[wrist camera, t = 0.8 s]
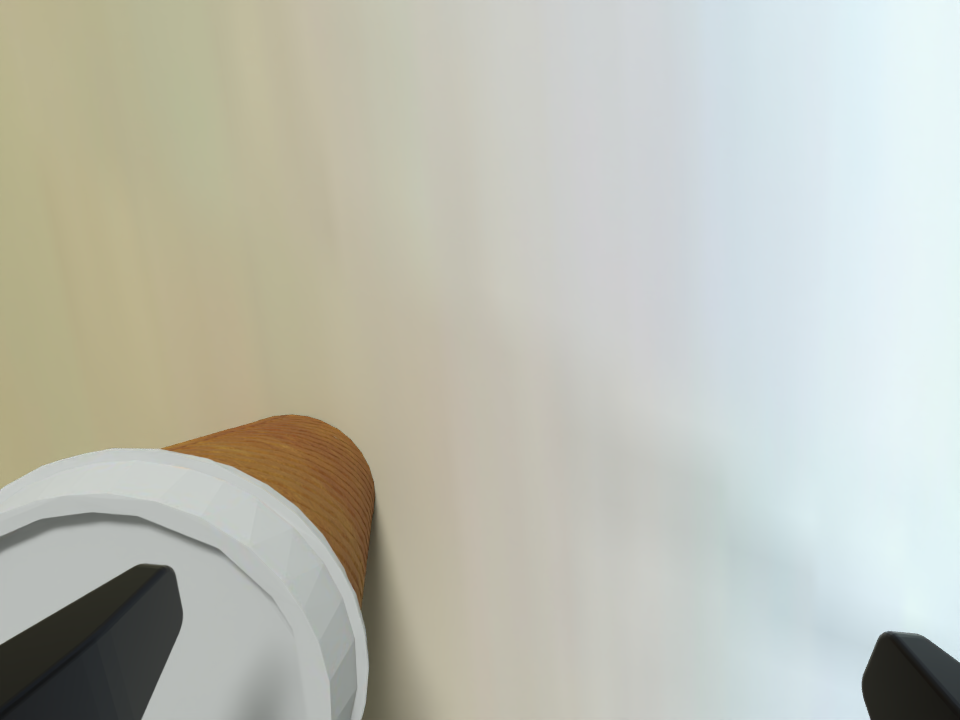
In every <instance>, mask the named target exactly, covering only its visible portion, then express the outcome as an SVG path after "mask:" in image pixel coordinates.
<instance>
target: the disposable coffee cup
mask: <svg viewBox="0 0 960 720" xmlns="http://www.w3.org/2000/svg"><path fill="white" fill-rule="evenodd" d="M374 500H375V491H374V481H373V478H372V475H371V472H370V468H369V466H368V464H367V462H366V460H365V458H364V456H363V455H362V453H361V451H360V450H359V449H358V448H357V446H356V445H355V444H354V443H353V442H352V440H351V439H349V438H348V437H347V436H346V435H345V434H343V433H342V432H341V431H340V430H338V429H337V428H335V427H333V426H331V425H329V424H327V423H325V422H323V421H321V420H318V419H314V418H311V417H308V416H300V415H282V416H273V417H269V418H265V419H262V420H259V421H256V422H253V423H250V424H246V425H243V426H239V427H236V428H232V429H227V430H224V431H221V432H217V433H214V434H211V435H207V436H204V437H200V438H196V439H193V440H189V441H186V442H182V443H179V444H175V445H172V446H169V447H165V448H161V449H131V448H112V449H107V450H102V451H96V452H91V453H86V454H81V455H77V456H73V457H70V458H66V459H62V460H59V461H56V462H53V463H49V464H46V465H43V466H41V467H39V468H37V469H36V470H34V471H32V472H30V473H28V474H26V475H25V476H23V477H21V478H19V479H17V480H15V481H14V482H12V483H10V484H8V485H6V486H4V487H3V488H2V489H1V490H0V644H2V643H4V642H5V641H7V640H9V639H11V638H12V637H14V636H16V635H17V634H19V633H21V632H23V631H24V630H26V629H28V628H29V627H31V626H33V625H34V624H36V623H38V622H40V621H41V620H43V619H45V618H46V617H48V616H50V615H52V614H53V613H55V612H57V611H58V610H60V609H62V608H64V607H65V606H67V605H69V604H70V603H72V602H74V601H76V600H77V599H79V598H81V597H82V596H84V595H86V594H87V593H89V592H91V591H93V590H94V589H96V588H98V587H99V586H101V585H103V584H105V583H106V582H108V581H110V580H111V579H113V578H115V577H117V576H118V575H120V574H122V573H123V572H125V571H127V570H128V569H130V568H132V567H134V566H136V565H138V564H143V563H148V564H159V565H168V566H170V567H172V568H173V570H174V571H175V574H176V578H177V583H178V588H179V593H180V598H181V603H182V608H183V622H182V626H181V630H180V632H179V635H178V637H177V639H176V642H175V644H174V646H173V649H172V651H171V653H170V656H169V658H168V660H167V662H166V665H165V667H164V669H163V672H162V674H161V676H160V678H159V681H158V683H157V685H156V688H155V690H154V692H153V694H152V697H151V699H150V701H149V704H148V706H147V708H146V711H145V713H144V715H143V717H142V720H362V716H363V713H364V709H365V704H366V696H367V685H368V674H369V658H368V648H367V637H366V629H365V625H364V621H363V617H362V614H361V608H362V599H363V589H364V583H365V575H366V566H367V558H368V550H369V541H370V533H371V523H372V515H373V512H374Z"/></svg>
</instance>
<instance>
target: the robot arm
mask: <svg viewBox="0 0 960 720" xmlns="http://www.w3.org/2000/svg"><path fill="white" fill-rule="evenodd" d="M182 622H183V608H182V603H181V598H180V593H179V588H178V583H177V578H176V574H175V571H174V570H173V568H172V567H170V566H168V565H159V564H148V563H143V564H138V565H136V566H134V567H132V568H130V569H128V570H127V571H125V572H123V573H122V574H120V575H118V576H117V577H115V578H113V579H111V580H110V581H108V582H106V583H105V584H103V585H101V586H99V587H98V588H96V589H94V590H93V591H91V592H89V593H87V594H86V595H84V596H82V597H81V598H79V599H77V600H76V601H74V602H72V603H70V604H69V605H67V606H65V607H64V608H62V609H60V610H58V611H57V612H55V613H53V614H52V615H50V616H48V617H46V618H45V619H43V620H41V621H40V622H38V623H36V624H34V625H33V626H31V627H29V628H28V629H26V630H24V631H23V632H21V633H19V634H17V635H16V636H14V637H12V638H11V639H9V640H7V641H5V642H4V643H2V644H0V720H142V717H143V715H144V713H145V711H146V708H147V706H148V704H149V701H150V699H151V697H152V694H153V692H154V690H155V688H156V685H157V683H158V681H159V678H160V676H161V674H162V672H163V669H164V667H165V665H166V662H167V660H168V658H169V656H170V653H171V651H172V649H173V646H174V644H175V642H176V639H177V637H178V635H179V632H180V630H181V626H182ZM862 693H863V698H864V701H865V704H866V707H867V710H868V713H869V716H870V719H871V720H960V662H958V661H957V660H956V659H954V658H953V657H951V656H950V655H949V654H947V653H946V652H945V651H943V650H942V649H941V648H939V647H938V646H937V645H935V644H934V643H932V642H931V641H930V640H928V639H927V638H925V637H924V636H922V635H919V634H915V633H905V632H894V631H887V632H884V633H883V634H881V635H880V636H879V638H878V640H877V642H876V645H875V647H874V650H873V652H872V654H871V657H870V659H869V662H868V664H867V667H866V669H865V672H864V674H863V678H862Z"/></svg>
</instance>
